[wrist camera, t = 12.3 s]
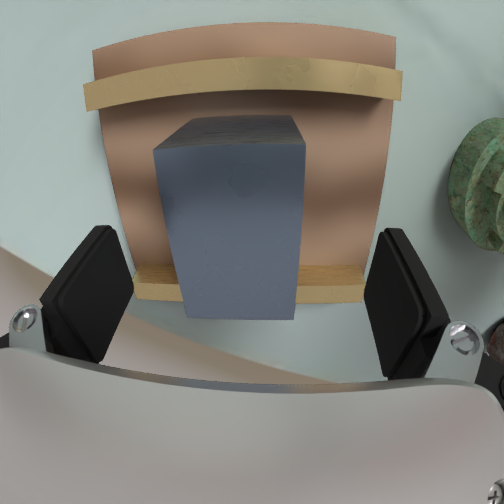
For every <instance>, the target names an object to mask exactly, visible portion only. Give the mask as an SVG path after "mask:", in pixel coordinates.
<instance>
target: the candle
mask: <svg viewBox="0 0 504 504" xmlns="http://www.w3.org/2000/svg"><path fill="white" fill-rule="evenodd" d="M487 351H488V353H489V355H490V357H491V358H493V359H494V360H496V361H498V362H499V363H501V364H502V365H504V322H503V323H501V324H500V325H499V326H498V327H497V329H496V331H495V332H494V333H493V334H492V336H491V339H490V341H489V343H488V345H487Z"/></svg>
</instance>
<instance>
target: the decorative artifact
mask: <svg viewBox="0 0 504 504" xmlns="http://www.w3.org/2000/svg"><path fill="white" fill-rule="evenodd" d="M448 198H449V205H450V209H451V212H452V214H453V216H454V218H455V220H456V221H457V223H458V224H459V225H460V226H461V227H462V229H463V230H464V231H465V232H466V233H467V234H468V235H469V237H470V238H471V239H472V240H473V241H474V243H475V244H477V245H478V246H479V247H481V248H483V249H486V250H491V251H495V250H497V251H498V252H500V253H503V254H504V119H502V118H491V119H487V120H485V121H483V122H481V123H479V124H478V125H476V126H475V127H474V128H473V129H472V130H471V131H470V132H469V133H468V134H467V135H466V137H465V138H464V139H463V141H462V143H461V144H460V146H459V148H458V150H457V152H456V154H455V157H454V159H453V162H452V166H451V169H450V174H449V181H448Z"/></svg>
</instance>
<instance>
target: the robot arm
mask: <svg viewBox="0 0 504 504" xmlns="http://www.w3.org/2000/svg"><path fill="white" fill-rule="evenodd" d="M133 292H134V283H133V281H132V278H131V275H130V272H129V269H128V266H127V263H126V261H125V258H124V255H123V252H122V248H121V245H120V242H119V239H118V236H117V233H116V231H115V230H114V229H112V227H111V226H109V225H100V226H95V227H94V228H93V229H92V230H91V232H90V233H89V234H88V235H87V236H86V238H85V239H84V240H83V241H82V243H81V244H80V245H79V246H78V248H77V249H76V250H75V251H74V253H73V254H72V255H71V256H70V258H69V259H68V260H67V262H66V263H65V264H64V266H63V267H62V268H61V270H60V271H59V272H58V274H57V275H56V276H55V278H54V279H53V281H52V282H51V284H50V285H49V286H48V288H47V289H46V291H45V292H44V293H43V295H42V296H41V298H40V299H39V300H40V302H41V303H42V305H43V307H42V309H40V308H39V307H38V306H37V305H34V304H31V305H27V306H24V307H22V308H21V309H19V310H18V311H17V312H16V313H15V314H14V316H13V317H12V319H11V321H10V325H9V333H7V334H6V335H4V336H2V337H0V504H504V365H502V364H501V363H499V362H498V361H496V360H494V359H493V358H491V357H490V356H488V355H487V354H485V353H484V352H483V350H484V342H483V338H482V336H481V334H480V333H479V331H478V330H477V329H476V328H475V327H474V326H472V325H471V324H470V323H467V322H465V321H453V322H451V321H450V319H449V317H448V313H447V311H446V308H445V306H444V304H443V302H442V300H441V298H440V296H439V294H438V292H437V290H436V288H435V286H434V284H433V282H432V280H431V279H430V277H429V275H428V273H427V271H426V269H425V267H424V266H423V264H422V262H421V260H420V258H419V257H418V255H417V253H416V251H415V250H414V248H413V246H412V245H411V243H410V241H409V239H408V238H407V236H406V235H405V233H404V231H403V230H402V229H400V228H386V229H385V230H384V232H380V234H379V236H378V241H377V245H376V249H375V253H374V256H373V260H372V264H371V268H370V271H369V275H368V278H367V282H366V285H365V289H364V301H365V305H366V308H367V312H368V316H369V319H370V323H371V327H372V331H373V335H374V339H375V343H376V347H377V351H378V356H379V360H380V365H381V369H382V373H383V376H384V377H388V381H376V382H361V383H342V384H315V385H277V384H276V385H275V384H248V383H230V382H217V381H206V380H195V379H187V378H178V377H170V376H163V375H156V374H149V373H143V372H137V371H131V370H126V369H120V368H115V367H110V366H105V365H100V364H99V362H100V361H102V360H103V359H104V356H105V354H106V351H107V349H108V347H109V344H110V342H111V340H112V338H113V335H114V333H115V331H116V329H117V326H118V324H119V322H120V320H121V317H122V316H123V313H124V311H125V309H126V307H127V305H128V303H129V301H130V299H131V296H132V294H133Z"/></svg>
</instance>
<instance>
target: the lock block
mask: <svg viewBox="0 0 504 504" xmlns="http://www.w3.org/2000/svg"><path fill="white" fill-rule="evenodd" d="M153 157H154V163H155V170H156V176H157V182H158V187H159V193H160V198H161V204H162V209H163V214H164V219H165V224H166V229H167V234H168V239H169V243H170V248H171V252H172V257H173V261H174V266H175V270H176V274H177V278H178V282H179V286H180V290H181V294H182V298H183V302H184V306H185V310H186V314H187V317H188V318H209V319H243V320H294V311H295V301H296V291H297V281H298V270H299V258H300V245H301V232H302V218H303V202H304V184H305V163H306V143H305V141H304V139H303V137H302V135H301V133H300V131H299V129H298V127H297V125H296V123H295V122H294V120H293V118H292V116H291V115H236V116H216V117H201V118H193V119H191V120H190V121H189V122H187V123H186V124H185V125H183V126H182V127H181V128H179V129H178V130H177V131H175V132H174V133H173V134H172V135H170V136H169V137H168V138H167V139H165V140H164V141H163V142H162V143H160V144H159V145H158V146H157V147H155V148H154V149H153Z"/></svg>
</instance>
